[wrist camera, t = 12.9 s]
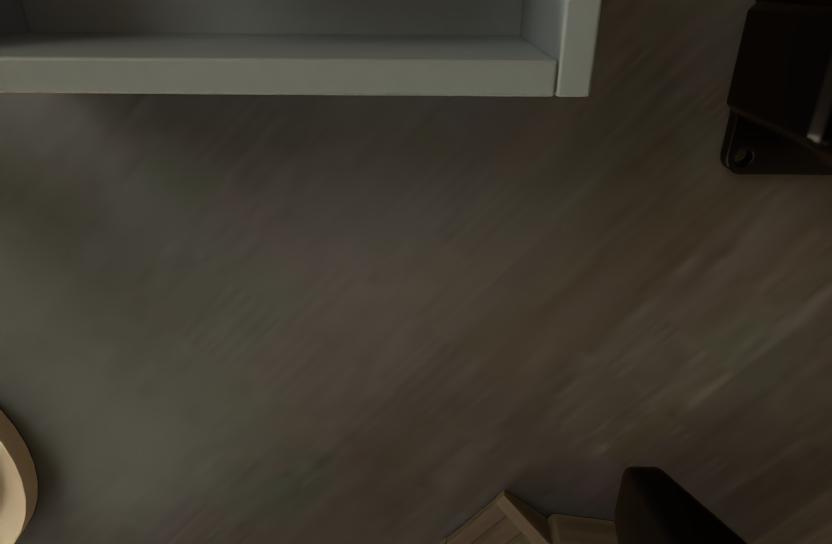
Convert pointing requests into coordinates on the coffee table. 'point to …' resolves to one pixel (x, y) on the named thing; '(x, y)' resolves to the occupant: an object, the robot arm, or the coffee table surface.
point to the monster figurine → (15, 483)
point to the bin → (300, 47)
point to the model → (529, 526)
